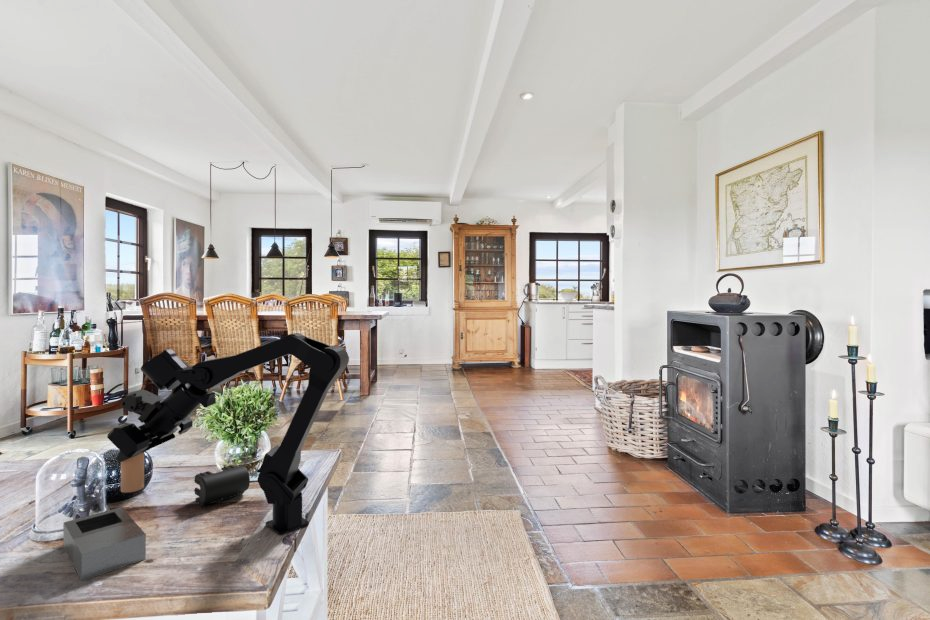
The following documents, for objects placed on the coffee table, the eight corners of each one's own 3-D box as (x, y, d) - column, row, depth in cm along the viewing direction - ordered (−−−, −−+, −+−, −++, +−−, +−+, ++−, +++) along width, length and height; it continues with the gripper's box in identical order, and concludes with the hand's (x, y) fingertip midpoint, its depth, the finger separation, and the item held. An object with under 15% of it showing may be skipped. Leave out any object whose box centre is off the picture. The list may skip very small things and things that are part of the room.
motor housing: (145, 559, 84) (145, 534, 84) (81, 581, 77) (81, 554, 77) (121, 529, 94) (121, 507, 94) (63, 546, 87) (63, 522, 87)
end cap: (205, 510, 103) (206, 480, 103) (192, 501, 108) (192, 472, 107) (250, 496, 111) (250, 468, 111) (235, 488, 115) (236, 461, 115)
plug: (146, 488, 98) (146, 429, 97) (123, 494, 95) (123, 433, 94) (141, 483, 100) (141, 425, 100) (118, 488, 97) (118, 429, 97)
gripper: (179, 371, 106) (131, 418, 107) (117, 386, 88) (59, 443, 88) (213, 406, 106) (165, 453, 107) (158, 428, 88) (100, 485, 88)
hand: (126, 457), depth 97 cm, fingers closed on plug, 4 cm apart
